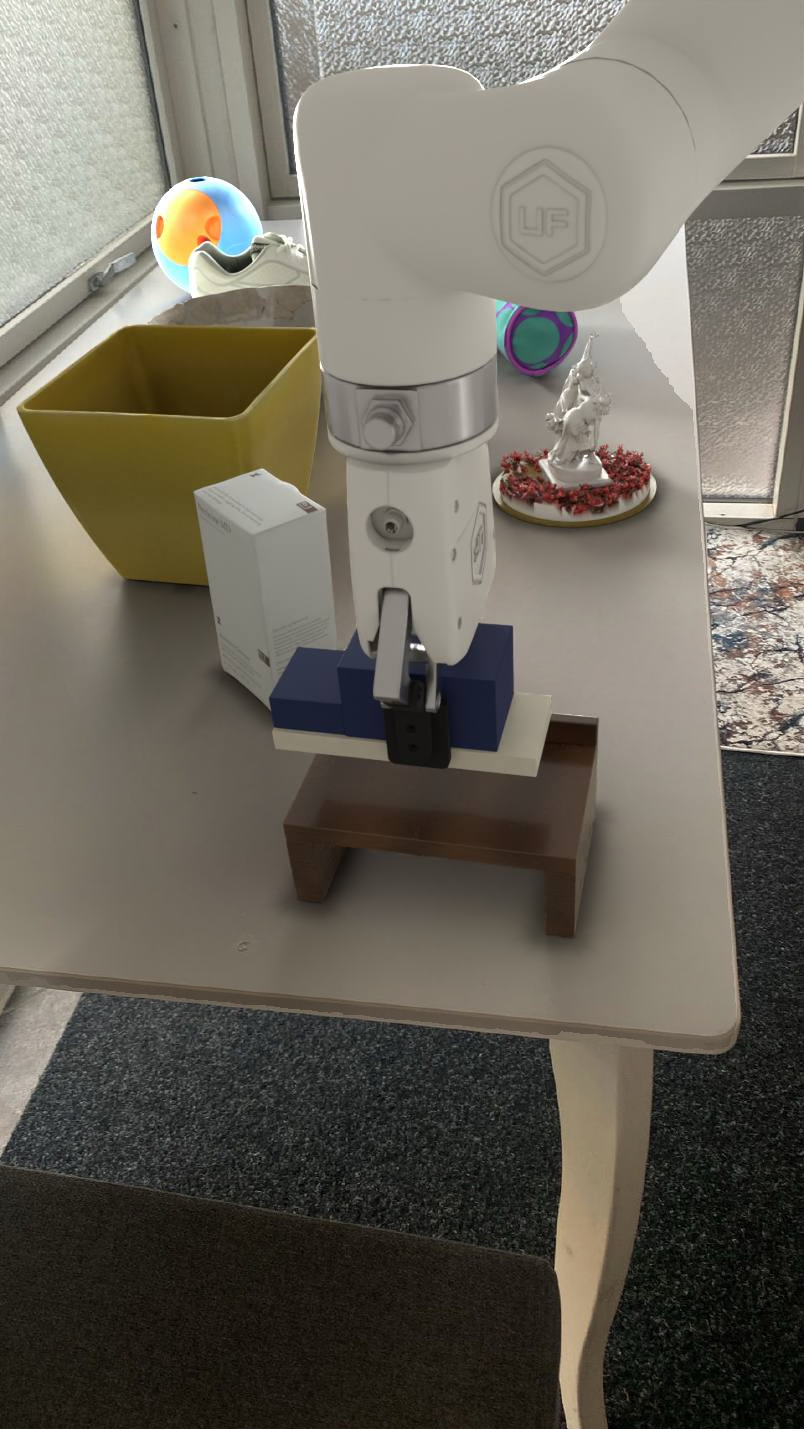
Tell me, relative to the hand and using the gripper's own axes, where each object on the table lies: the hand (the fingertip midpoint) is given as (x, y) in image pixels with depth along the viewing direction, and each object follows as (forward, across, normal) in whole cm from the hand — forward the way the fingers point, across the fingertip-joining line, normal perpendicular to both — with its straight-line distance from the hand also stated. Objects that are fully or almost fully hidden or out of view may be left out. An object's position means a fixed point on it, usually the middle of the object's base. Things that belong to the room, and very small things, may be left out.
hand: (433, 723), depth 59 cm
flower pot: (+11, +35, +29) cm, 47 cm away
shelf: (+11, +1, 0) cm, 11 cm away
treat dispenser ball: (+11, +108, +58) cm, 123 cm away
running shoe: (+11, +92, +39) cm, 100 cm away
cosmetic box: (+11, +17, +16) cm, 26 cm away
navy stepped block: (+1, 0, +1) cm, 1 cm away
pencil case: (+11, +86, +10) cm, 87 cm away
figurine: (+11, +50, -1) cm, 51 cm away
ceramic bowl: (+11, +68, +36) cm, 78 cm away
